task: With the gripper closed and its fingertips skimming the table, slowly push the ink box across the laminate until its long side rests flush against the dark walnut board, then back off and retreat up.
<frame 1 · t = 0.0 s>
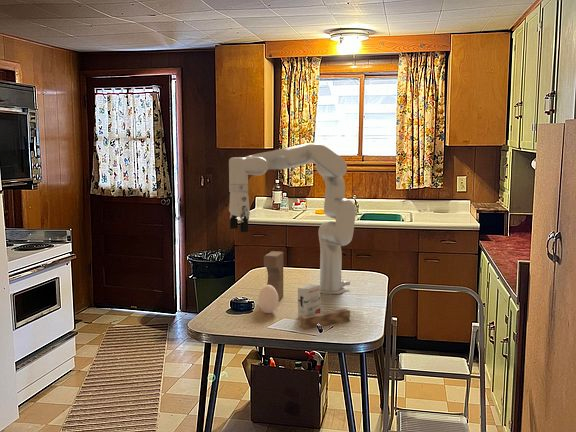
hand: (239, 230, 245), 31 cm above the table, fingers open, 9 cm apart
decorative block: (273, 300, 257), on the table
ink box: (309, 316, 235), on the table
egg: (268, 313, 238), on the table
board: (325, 323, 225), on the table
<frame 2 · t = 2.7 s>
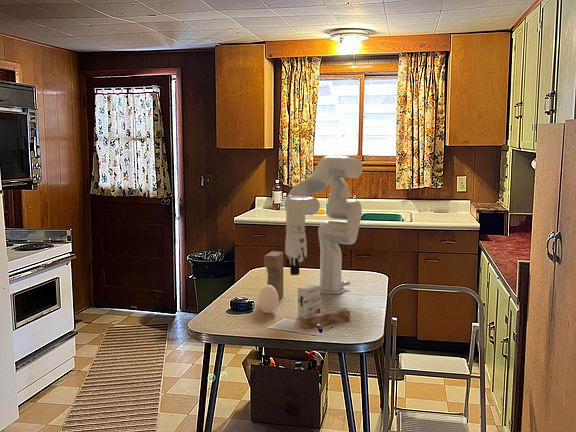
hand: (294, 274, 241), 14 cm above the table, fingers closed
nothing on the table moved.
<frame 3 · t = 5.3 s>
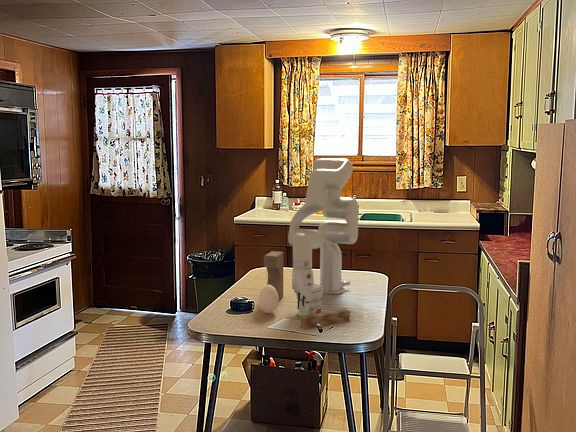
hand: (302, 309, 239), 1 cm above the table, fingers closed
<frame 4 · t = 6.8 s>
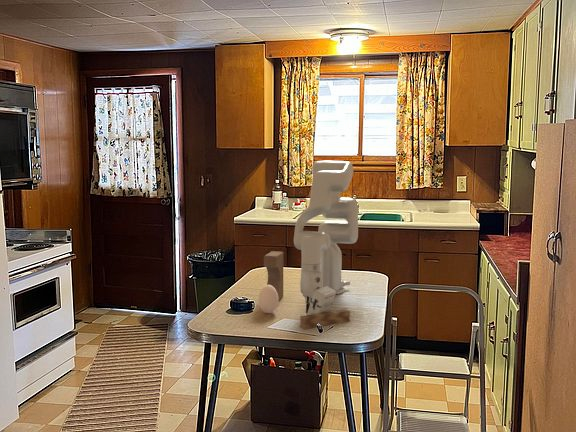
hand: (310, 313, 233), 1 cm above the table, fingers closed
ink box: (316, 317, 230), point 1 cm above the table, touching board, gripper
everything else where it was.
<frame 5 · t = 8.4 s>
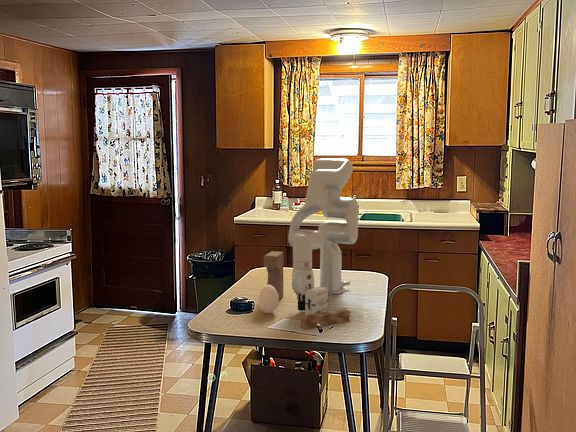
hand: (302, 309, 239), 1 cm above the table, fingers closed
ink box: (316, 319, 230), on the table
everything else where it was.
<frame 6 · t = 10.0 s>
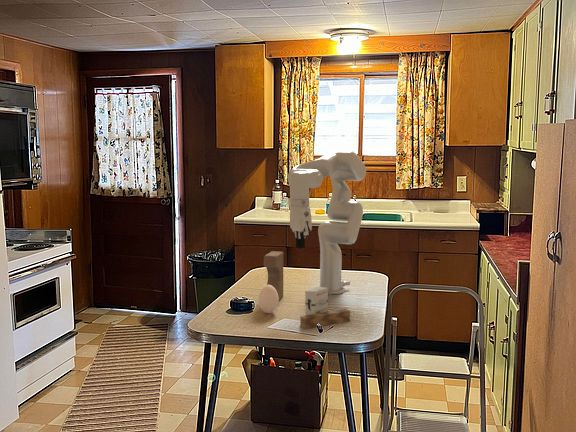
hand: (300, 247, 243), 25 cm above the table, fingers closed
nothing on the table moved.
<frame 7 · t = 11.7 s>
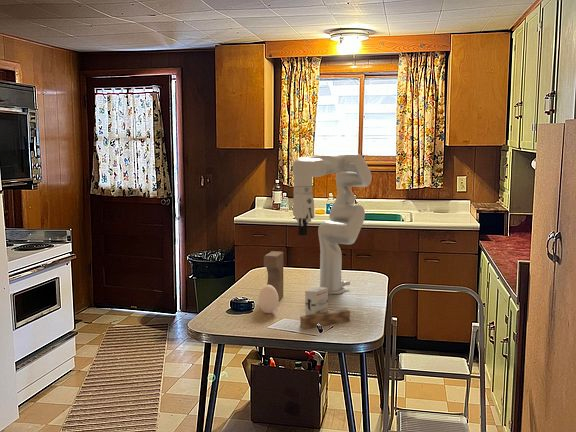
hand: (302, 235, 246), 29 cm above the table, fingers closed
nothing on the table moved.
at the end: ink box inside the target area on the table beside the board (0.5 cm from its centre), on the table; ink box tilted 0° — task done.
